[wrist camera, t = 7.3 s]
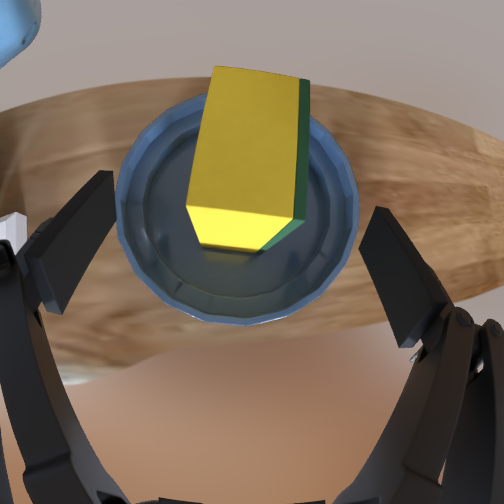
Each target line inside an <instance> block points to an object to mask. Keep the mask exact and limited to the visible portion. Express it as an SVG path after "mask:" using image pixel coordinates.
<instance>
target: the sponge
mask: <svg viewBox="0 0 504 504" xmlns="http://www.w3.org/2000/svg"><path fill="white" fill-rule="evenodd" d="M309 134H310V81H309V80H306V79H299V78H295V77H291V76H286V75H281V74H275V73H269V72H263V71H256V70H248V69H241V68H232V67H223V66H215V67H214V70H213V73H212V77H211V82H210V86H209V90H208V94H207V98H206V103H205V107H204V111H203V116H202V121H201V125H200V130H199V135H198V140H197V145H196V150H195V155H194V160H193V166H192V171H191V177H190V182H189V188H188V194H187V200H186V208H187V210H188V213H189V216H190V218H191V221H192V223H193V226H194V229H195V231H196V234H197V236H198V239H199V242H200V244H201V247H206V248H215V249H223V250H232V251H241V252H249V253H258V254H262V253H264V252H265V251H266V250H268V249H269V248H271V247H272V246H273V245H275V244H276V243H277V242H279V241H280V240H281V239H283V238H284V237H285V236H287V235H288V234H289V233H291V232H292V231H293V230H295V229H296V228H297V227H299V226H300V225H301V224H303V223H304V222H305V221H306V208H307V189H308V167H309Z"/></svg>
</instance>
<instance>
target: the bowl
mask: <svg viewBox="0 0 504 504" xmlns="http://www.w3.org/2000/svg"><path fill="white" fill-rule="evenodd" d="M207 94H208V93H206V94H201V95H198V96H196V97H193V98H191V99H189V100H186V101H184V102H182V103H180V104H177V105H175V106H173V107H171V108H169V109H167V110H166V111H165V112H164V113H163V114H161V115H160V116H159V117H158V118H157V119H155V120H154V121H153V122H152V123H151V124H150V125H149V126H147V127H146V128H145V129H144V130H143V131H142V132H141V133H140V135H139V136H138V138H137V139H136V141H135V143H134V144H133V146H132V147H131V149H130V151H129V152H128V154H127V156H126V157H125V159H124V161H123V163H122V166H121V170H120V174H119V178H118V182H117V187H116V191H115V203H116V213H117V220H116V227H117V235H118V239H119V241H120V244H121V246H122V248H123V250H124V252H125V254H126V256H127V258H128V260H129V262H130V264H131V266H132V268H133V270H134V272H135V274H136V275H137V276H138V277H139V278H140V279H141V280H142V281H143V282H144V283H145V284H146V285H147V286H148V287H149V288H150V289H151V290H152V291H153V292H154V293H155V294H156V295H157V296H158V297H159V298H160V299H161V300H162V301H163V302H164V303H166V304H167V305H169V306H171V307H174V308H176V309H178V310H180V311H182V312H184V313H186V314H188V315H191V316H193V317H195V318H197V319H199V320H202V321H205V322H211V323H220V324H230V325H241V326H250V325H254V324H258V323H263V322H267V321H271V320H275V319H279V318H283V317H287V316H290V315H291V314H293V313H294V312H296V311H298V310H299V309H301V308H302V307H304V306H305V305H307V304H309V303H310V302H312V301H313V300H315V299H316V298H318V297H319V296H321V295H322V294H323V293H324V292H325V291H326V289H327V288H328V287H329V286H330V284H331V283H332V282H333V280H334V279H335V278H336V277H337V275H338V274H339V273H340V272H341V270H342V269H343V268H344V266H345V265H346V263H347V260H348V258H349V255H350V252H351V249H352V246H353V243H354V241H355V238H356V235H357V232H358V223H359V192H358V189H357V186H356V182H355V179H354V176H353V172H352V169H351V166H350V163H349V160H348V158H347V157H346V155H345V154H344V152H343V151H342V149H341V148H340V146H339V145H338V143H337V142H336V140H335V139H334V137H333V136H332V134H331V133H330V132H329V131H328V130H327V129H326V128H325V127H324V126H323V125H321V124H320V123H319V122H318V121H317V120H315V119H314V118H313V117H312V116H311V115H310V134H309V167H308V189H307V208H306V221H305V222H304V223H303V224H301V225H300V226H299V227H297V228H296V229H295V230H293V231H292V232H291V233H289V234H288V235H287V236H285V237H284V238H283V239H281V240H280V241H279V242H277V243H276V244H275V245H273V246H272V247H271V248H269V249H268V250H266V251H265V252H264V253H262V254H258V253H249V252H241V251H232V250H223V249H215V248H206V247H201V244H200V242H199V239H198V236H197V234H196V231H195V229H194V226H193V223H192V221H191V218H190V216H189V213H188V210H187V208H186V200H187V194H188V188H189V182H190V177H191V171H192V166H193V160H194V155H195V150H196V145H197V140H198V135H199V130H200V125H201V121H202V116H203V111H204V107H205V103H206V98H207Z"/></svg>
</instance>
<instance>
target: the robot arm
mask: <svg viewBox="0 0 504 504" xmlns="http://www.w3.org/2000/svg"><path fill="white" fill-rule="evenodd" d="M40 23H41V3H40V0H0V69H1V68H2V67H3V66H4V65H6V64H7V63H8V62H9V61H10V60H11V59H13V58H14V57H15V56H17V55H18V54H19V53H20V52H22V51H23V50H24V49H26V48H27V47H28V46H29V45H30V44H31V42H32V41H33V40H34V38H35V36H36V35H37V33H38V30H39V28H40ZM116 220H117V213H116V203H115V191H114V177H113V171H105V170H99V171H98V172H97V173H96V174H95V175H94V176H93V177H92V178H91V179H90V180H89V181H88V182H87V183H86V184H85V185H84V186H83V187H82V188H81V189H80V190H79V191H78V192H77V193H76V194H75V195H74V196H73V197H72V198H71V199H70V200H69V201H68V203H67V204H66V205H65V206H64V207H63V208H62V209H61V210H60V211H59V212H58V213H57V215H56V216H55V217H54V218H49V219H48V220H46V221H45V222H43V223H42V224H41V225H40V226H39V227H38V228H37V229H36V230H35V233H33V234H32V235H31V236H30V239H28V240H27V241H26V242H25V244H24V245H23V246H22V247H21V248H20V250H19V251H18V252H17V254H16V255H15V254H14V251H13V248H12V246H11V243H10V241H8V240H7V239H1V240H0V384H1V388H2V393H3V397H4V401H5V405H6V409H7V412H8V416H9V419H10V423H11V426H12V429H13V432H14V435H15V438H16V440H17V444H18V446H19V449H20V452H21V454H22V457H23V459H24V462H25V466H26V469H25V471H24V473H23V482H24V485H25V488H26V490H27V492H28V494H29V497H30V499H31V501H32V503H33V504H131V503H130V502H129V501H128V499H127V498H126V496H125V495H124V493H123V492H122V490H121V489H120V488H119V486H118V485H117V484H116V482H115V481H114V480H113V479H112V478H111V477H110V475H109V474H108V473H107V472H106V471H105V469H104V468H103V466H102V465H101V463H100V461H99V459H98V457H97V456H96V454H95V452H94V450H93V449H92V447H91V445H90V443H89V441H88V439H87V437H86V435H85V433H84V431H83V429H82V427H81V425H80V423H79V421H78V419H77V417H76V414H75V412H74V410H73V408H72V405H71V403H70V401H69V398H68V396H67V393H66V391H65V389H64V386H63V383H62V381H61V378H60V375H59V373H58V370H57V367H56V364H55V361H54V358H53V355H52V352H51V349H50V346H49V343H48V339H47V336H46V332H45V329H44V325H43V321H42V317H41V314H40V312H39V310H38V307H39V305H40V303H41V301H42V302H43V304H44V306H45V308H46V311H48V312H52V313H56V314H60V315H62V314H63V312H64V310H65V308H66V306H67V304H68V302H69V300H70V298H71V296H72V295H73V293H74V291H75V289H76V287H77V285H78V283H79V281H80V280H81V278H82V276H83V274H84V272H85V271H86V269H87V267H88V265H89V264H90V262H91V260H92V259H93V257H94V255H95V253H96V252H97V250H98V248H99V247H100V245H101V244H102V242H103V240H104V239H105V237H106V236H107V234H108V232H109V231H110V229H111V228H112V226H113V225H114V223H115V221H116ZM358 249H359V251H360V253H361V255H362V258H363V260H364V262H365V264H366V267H367V269H368V271H369V273H370V276H371V278H372V280H373V283H374V285H375V287H376V290H377V292H378V295H379V297H380V300H381V302H382V305H383V307H384V310H385V312H386V315H387V317H388V320H389V322H390V325H391V328H392V330H393V333H394V336H395V338H396V341H397V344H398V347H399V348H410V347H413V346H414V345H415V344H416V343H417V342H418V340H419V339H420V338H421V340H422V343H423V346H422V347H421V348H420V349H419V350H418V351H417V352H416V353H415V354H414V356H413V357H412V358H411V359H410V362H412V361H413V360H414V359H415V362H414V365H413V367H412V369H411V372H410V374H409V377H408V379H407V382H406V384H405V387H404V389H403V392H402V394H401V396H400V398H399V400H398V402H397V404H396V407H395V409H394V411H393V413H392V415H391V417H390V419H389V421H388V423H387V425H386V427H385V429H384V431H383V433H382V435H381V436H380V438H379V440H378V442H377V444H376V446H375V447H374V449H373V451H372V453H371V455H370V456H369V458H368V459H367V461H366V463H365V464H364V466H363V468H362V469H361V471H360V473H359V474H358V476H357V477H356V479H355V480H354V482H353V483H352V484H351V485H350V486H348V487H347V488H346V489H345V490H344V491H342V492H341V493H340V494H339V496H338V497H337V498H336V499H335V501H334V502H333V503H332V504H504V330H503V329H502V327H501V325H500V324H499V323H498V322H496V321H495V320H493V319H487V321H486V322H485V323H484V324H483V325H482V326H480V325H477V324H474V321H473V319H472V317H471V316H470V314H469V313H468V312H467V311H466V310H464V309H462V308H460V307H455V306H454V304H453V303H452V301H451V299H450V297H449V296H448V294H447V292H446V290H445V289H444V287H443V286H442V284H441V282H440V280H438V277H437V275H436V274H435V272H434V270H433V269H432V268H431V267H430V266H429V265H428V264H427V263H426V262H425V261H424V260H423V258H422V257H421V255H420V254H419V252H418V251H417V249H416V248H415V246H414V245H413V243H412V242H411V240H410V239H409V237H408V236H407V234H406V233H405V231H404V230H403V228H402V227H401V226H400V224H399V223H398V221H397V220H396V219H395V217H394V216H393V214H392V213H391V212H390V210H389V209H388V208H383V207H379V206H376V207H375V210H374V212H373V215H372V217H371V220H370V222H369V225H368V227H367V230H366V232H365V234H364V237H363V239H362V241H361V244H360V246H359V248H358ZM482 363H483V364H484V365H483V369H482V370H481V371H480V372H479V373H478V370H477V368H478V367H479V366H480V365H481V364H482ZM445 459H446V462H445ZM444 462H445V468H444V473H443V479H442V484H441V485H440V484H439V483H438V478H439V475H440V472H441V470H442V468H443V465H444ZM0 504H14V503H13V498H12V494H11V488H10V484H9V479H8V475H7V470H6V465H5V459H4V453H3V446H2V438H1V429H0ZM136 504H202V503H195V502H186V501H179V500H172V499H166V498H160V497H159V500H151V501H145V502H140V503H136ZM295 504H325V500H322V501H315V502H305V503H295Z"/></svg>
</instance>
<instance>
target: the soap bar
mask: <svg viewBox="0 0 504 504" xmlns="http://www.w3.org/2000/svg"><path fill="white" fill-rule="evenodd" d="M1 239H7V240H8V241H10V243H11V246H12V248H13V251H14V254H15V255H16V254H17V252H18V251H19V250H20V248H21V247H22V246H23V245H24V244H25V242H26V241H27V216H24V215H22V214H20V213H17V212H14V213H11V214H9V215H6V216H3V217H0V240H1Z"/></svg>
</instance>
